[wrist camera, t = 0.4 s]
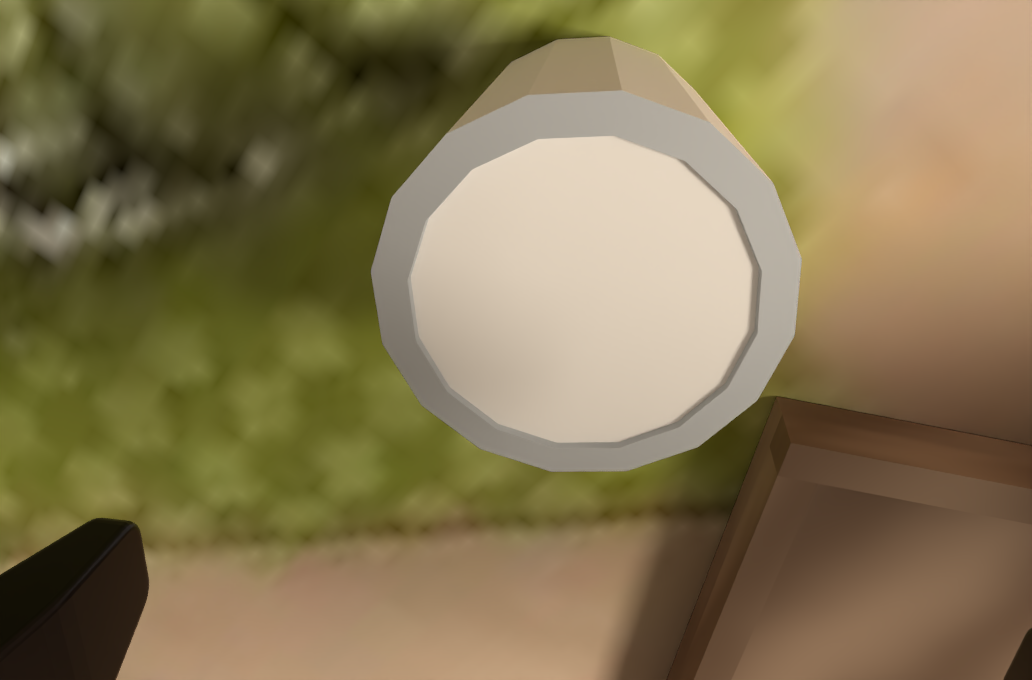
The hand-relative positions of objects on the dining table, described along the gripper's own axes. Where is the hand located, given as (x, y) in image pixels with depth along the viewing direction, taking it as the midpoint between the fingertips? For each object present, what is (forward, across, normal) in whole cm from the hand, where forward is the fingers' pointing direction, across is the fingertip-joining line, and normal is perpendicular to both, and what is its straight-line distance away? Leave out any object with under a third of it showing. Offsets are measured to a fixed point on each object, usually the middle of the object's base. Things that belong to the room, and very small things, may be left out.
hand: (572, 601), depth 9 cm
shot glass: (+13, 0, 0) cm, 13 cm away
